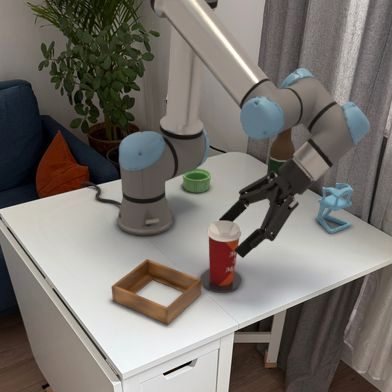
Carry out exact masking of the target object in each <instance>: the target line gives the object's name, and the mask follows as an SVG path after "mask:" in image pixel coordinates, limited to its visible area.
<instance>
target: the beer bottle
mask: <svg viewBox="0 0 392 392" xmlns="http://www.w3.org/2000/svg"><path fill="white" fill-rule="evenodd" d="M292 130H293V127H292V128H289V129H287V130H285V131H282V132H280V133H278V134H277V135H276V136H277V137H276V138H275V139H274V140H273V141H272V144H271V145H270V148H269V154H268V163H267V170H266V175H267V174H268V173H269V172H270V171H272V170H273V171H274V172H275V173H276V175H277V176H278V175H280V173H279V171H278V169H279V168H280V167H281V166H282V165H283V164H284V163H285V162H286V161H287V160H288V159H290V158H291V159H293V158H294V156H293V154H294V153H295V152H296V150H295V145H294V142H293V141H292Z"/></svg>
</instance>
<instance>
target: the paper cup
mask: <svg viewBox="0 0 392 392" xmlns="http://www.w3.org/2000/svg"><path fill="white" fill-rule="evenodd" d="M206 231H207V236H208V263H209V265H208V266H209V268H208V269H210V280H211V282H212V283H213V284H215V285H219V286H225V285H228V284H230V283H231V282H232V280H233V276H234V271H235V269H236V264H237V263H236V262H237V257H238V256H237V255H238V254H237V253H236V252H235V250H234V249H236V248H237V247H238V246H239V245H240V238H241V237H242V231H241V229H240V226H239V224H237V223H236V222H235V221H233V222H231V221H219V220H217V221H214V222H212V223H211V224H210V225H209V228H208V229H207V230H206Z"/></svg>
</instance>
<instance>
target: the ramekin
mask: <svg viewBox="0 0 392 392" xmlns="http://www.w3.org/2000/svg"><path fill="white" fill-rule="evenodd" d="M181 177H182V182H183V183H182V184H183V188H184V190H186V191H188V192H191V193H203V192H206V191H208V189H209V188H210V182H211V178H212V173H211V172H210V171H209V170H208V169H205V168H200V167H198V168H196V169H195V170H193V171H191V172H187V173H184V174H182V175H181Z"/></svg>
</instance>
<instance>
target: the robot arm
mask: <svg viewBox="0 0 392 392" xmlns="http://www.w3.org/2000/svg"><path fill="white" fill-rule="evenodd" d="M145 1H146V2H147V5H149V7H150V9H151V10H152V11H153V12H154V13H155V15H156V16H157V17H158V18H161V19H167V21H168V22H169V23H170V24H171V25H170V26H171V27H170V41H169V43H170V44H169V58H168V59H169V60H168V75H167V76H168V79H167V93H166V111H165V112H166V113H165V115H164V116H163V117H161V119H160V120H159V132H156V131H153V130H152V131H151V130H150V131H149V130H144V131H137V132H134V133H131V134H129V135H126V137H124V138H123V139H122V140H121V141H120V144H119V146H118V163H119V169H120V181H121V192H122V199H121V202H120V201H117V200H114V199H110V198H103V197H100V196H99V195H100V194H101V192H102V188H101V187H100V186H99V185H97V184H95V183H93V182H90V181H87V180H86V181H82V182H81V183H80V186H82V187H83V186H84V185H89V186H91V187H93V188H95V189H96V190H97V192H96V193H95V199H96V200H98V201H100V202H104V203H112V204H115V205H118V206H119V210H118V214H117V223H118V227H119V228H120V230H122V231H123V232H125V233H127V234H130V235H134V236H139V237H141V236H144V237H149V236H157V235H159V234H162V233H164V232H166V231H167V230H169V229H170V228H171V227H172V225H173V212H172V211H171V208H170V206H169V203H168V202H169V201H168V199H167V197H166V182H167V181H171V180H173V179H176V178H177V177H180V176H182V174H184V173H187V172H191V171H193V170H195V169H196V168H200V167H201V166H203V164H204V163H205V162H206V161H207V159H208V157H209V154H210V148H211V147H210V146H211V145H210V139H209V138H208V132H207V131H206V129H205V127H204V123H203V122H202V120H201V119H200V111H201V100H202V91H203V82H204V81H203V79H204V72H205V71H204V70H205V67H206V69H207V70H208V71H209V73H211V75H212V76H213V77H214V79H216V81H217V82H218V83H219V84H220V85H221V87H222V88H223V89H224V91H225V92H226V93H227V94H228V95H229V97H230V98H231V99H232V100H233V101H234V103H235V104H236V105H237V107H239V109H240V115H239V116H240V117H239V120H240V124H241V127H242V130H243V132H244V133H245V134H246V136H247V137H249V138H250V139H253V140H256V141H262V140H265V139H268V138H269V139H270V138H273V137H276V136H278V133H280V132H282V131H285V130H287V129H289V128H292V129H293V128H294V127H296V126H299V125H303V126H304V128H305V129H306V130H307V131H308V132H309V133H310V134H311V137H310V138H309V139H308V140H307V141H305V143H304V144H302V145H301V146H300V147H299V148H298V149H297V150H295V153H294V154H293V156H294V158H293V159H291V158H290V159H288V160H287V161H286V162H285V163H284V164H283V165H282V166H281V167H280V168H279V169H278V171H279V173H280V175H278V176H277V175H276V173H275V172H274V171H273V170H272V171H270V172H269V173H268V174H267V173H266V174H265V175H264V176H262V177H261V178H258V179H257V180H254V181H253V182H252V183H250V184H248V185H247V186H245V187H243V188H241V189H240V190H239V191H238V194H239V197H238V199H237V201H236V202H235V203H233V205H231V207H230V208H228V209H227V211H226V212H225V213H224V214H223V215H222V216H220V217H219V218H218V221H231V222H235V220H237V219H238V217H239V216H241V214H243V213H244V212H245V211H246V210H247V209H248V208H249V207H250V205H252V204H255V203H258V202H261V201H264V200H268V201H269V202H268V205H269V207H268V208H267V212H266V214H265V216H264V218H263V221H262V223H261V224H260V228H259V227H258V228H255V230H254V231H252V233H251V234H249V235H248V236H247V237H246V238H245V239H243V241H242V242H241V243H239V244H238V247H237V248H236V249H234V250H235V252H236V253H237V255H238V256H239V257H240V258H242V259H244V258H245V257H246V256H247V255H248V254H249V253H251V252H252V250H253V249H256V248H257V247H258V246H259V245H261V244H262V242H264V241H265V240H268V241H270V242H274V241H275V240H276V238H277V237H278V235H279V234H280V231H281V230H282V228H283V227H284V225H285V224H286V222H287V221H288V219H289V217H290V216H291V214H292V213H293V212H294V211H295V210H296V208H297V207H298V206H299V205H300V203H299V201H298V200H297V199H296V198H295V196H296V194H297V195H299V196H301V195H303V194H304V193H305V192H306V191H308V190H309V188H311V187H312V186H313V182H312V181H315V182H317V181H318V180H319V179H320V178H321V177H322V176H324V175H325V173H327V171H329V170H330V169H332V167H333V166H334V165H335V164H336V163H338V162H339V161H340V160H341V159H342V158H343V157H344V156H345V155H347V154H348V153H349V152H350V151H351V150H352V149H353V148H354V147H356V146H357V144H358V143H359V142H360V141H361V140H362V139H363V138H364V137H365V136H366V135H367V134H368V133H369V131H370V129H371V124H370V123H371V122H369V119H368V118H367V117H366V115H365V114H364V112H363V111H362V110H361V109H360V107H358V106H357V105H356V104H355V103H354V102H353V101H347V102H346V103H345V104H343V105H341V104H339V103H338V102H337V101H336V100H335V98H334V97H333V96H332V95H331V94H330V92H328V90H327V89H326V88H325V86H323V84H321V82H320V81H319V80H318V78H317V77H316V76H314V75H313V74H312V73H311V72H310V71H309V70H308V69H307V68H304V67H299V68H297V69H296V70H294V71H293V72H291V73H290V74H289V75H288V76H287V77H285V79H284V80H283V81H282V83H281V85H280V87H279V89H278V88H277V86H275V84H274V83H273V82H272V81H271V79H270V78H269V76H267V75H266V74H265V72H264V71H263V69H261V68H260V66H259V65H258V63H257V62H256V61H255V60H254V58H252V56H251V55H250V54H249V53H248V51H247V50H246V49H245V48H244V47H243V45H242V44H241V43H240V41H238V39H237V38H236V36H234V34H233V33H232V32H231V31H230V30H229V28H228V27H227V26H226V25H225V23H224V22H223V21H222V19H220V17H219V16H218V15H217V13H215V11H216V10H217V8H218V2H219V0H145Z"/></svg>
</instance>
